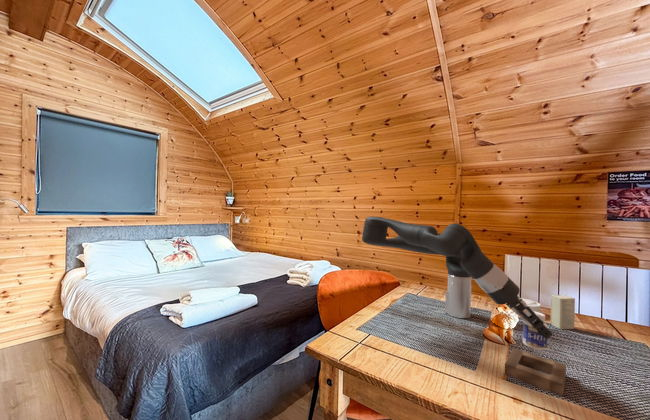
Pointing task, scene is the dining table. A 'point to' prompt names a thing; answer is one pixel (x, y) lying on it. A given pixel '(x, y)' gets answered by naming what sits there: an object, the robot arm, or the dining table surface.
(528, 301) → the ramekin
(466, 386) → the dining table surface
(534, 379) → the socket block
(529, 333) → the pill bottle
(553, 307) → the skincare box
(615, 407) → the dining table surface
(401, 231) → the robot arm
